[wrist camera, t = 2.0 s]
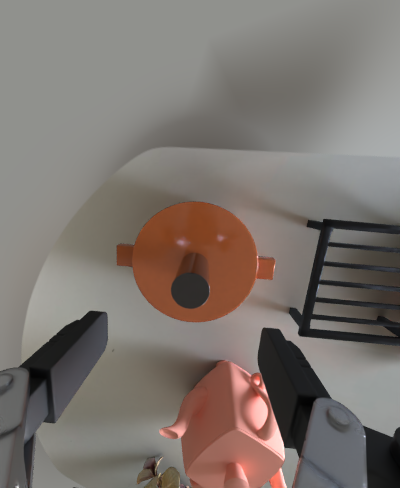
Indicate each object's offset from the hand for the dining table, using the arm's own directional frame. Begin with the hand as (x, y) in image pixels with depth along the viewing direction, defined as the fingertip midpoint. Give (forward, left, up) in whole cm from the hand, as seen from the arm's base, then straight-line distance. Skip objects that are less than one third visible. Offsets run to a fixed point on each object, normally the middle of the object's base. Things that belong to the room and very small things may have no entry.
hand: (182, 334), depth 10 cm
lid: (0, 0, -12) cm, 12 cm away
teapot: (+25, +7, -20) cm, 33 cm away
